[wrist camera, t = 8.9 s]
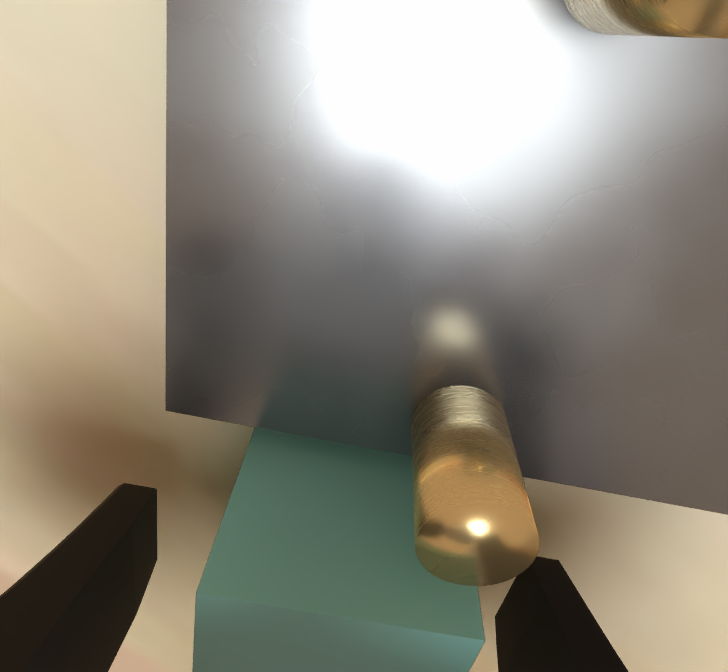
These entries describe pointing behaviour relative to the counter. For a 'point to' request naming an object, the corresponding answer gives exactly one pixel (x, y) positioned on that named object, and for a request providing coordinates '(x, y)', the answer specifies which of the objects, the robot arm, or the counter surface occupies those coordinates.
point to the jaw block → (327, 569)
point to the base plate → (458, 246)
